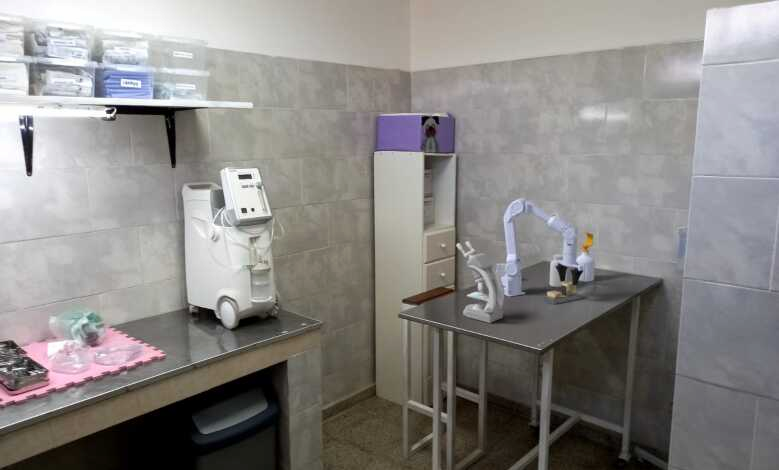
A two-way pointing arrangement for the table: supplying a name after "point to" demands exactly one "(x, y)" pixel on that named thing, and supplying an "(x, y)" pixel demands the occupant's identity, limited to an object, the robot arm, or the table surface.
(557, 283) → the pill bottle
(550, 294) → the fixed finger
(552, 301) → the grey rectangular tray
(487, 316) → the microscope
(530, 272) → the table surface
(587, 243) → the soap bottle
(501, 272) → the medicine box
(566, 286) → the tan wooden block
